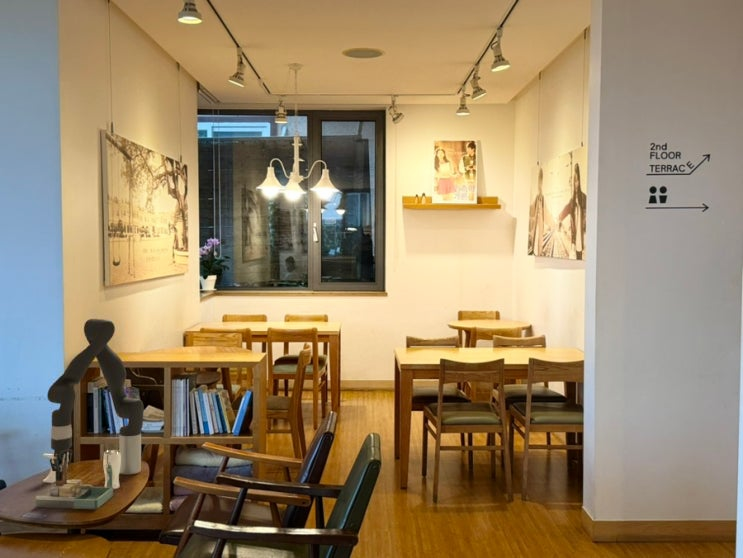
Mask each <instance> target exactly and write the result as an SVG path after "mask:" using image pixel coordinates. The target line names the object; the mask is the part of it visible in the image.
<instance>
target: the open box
mask: <svg viewBox="0 0 743 558" xmlns="http://www.w3.org/2000/svg"><path fill="white" fill-rule="evenodd" d="M54 486H56V483H55V484H54ZM91 487H93V485H92V484H82V490H81V491H79V492H78V493H74V495H73V496H72V497H59V496H50V490H48V491H47V492H45V493H44V494H42V495H35V507H36V508H44V509H45V508H49V509H69V510H70V509H72V510H73V509H74V499H86V498H87V497H88V496H90V495H91ZM74 510H75V509H74Z"/></svg>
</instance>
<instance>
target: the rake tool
mask: <svg viewBox="0 0 743 558" xmlns="http://www.w3.org/2000/svg"><path fill="white" fill-rule="evenodd" d="M58 463H60V462H58ZM59 468H60V466H59ZM67 478H68V468H67V462H66V461H64V465H63V466H62V480H61V481H55V484H56V486H55V485H54V486H52V487H51V488H50V489H49V491H50V496H59V488H60V487H61V486H63V485H64V484H67V483H68V482H69V481H71V480H72V479H67Z"/></svg>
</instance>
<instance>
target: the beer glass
mask: <svg viewBox="0 0 743 558" xmlns="http://www.w3.org/2000/svg"><path fill="white" fill-rule="evenodd" d="M120 468H121V451H119V449H111V450H110V449H109V450H106V451H104V452H103V472H104V478H105V480H104V481H105V482H104V485H103V487H113V490H117V489H119V488H120V487H121V486H120V480H119V479H120Z"/></svg>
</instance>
